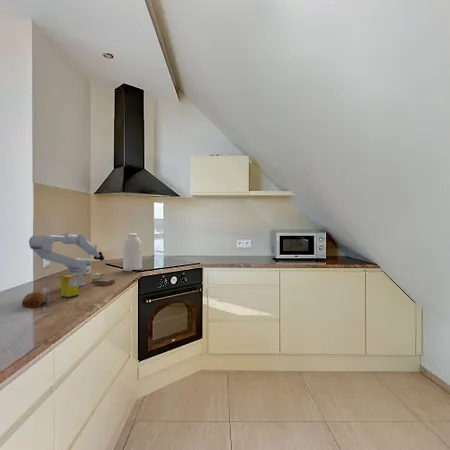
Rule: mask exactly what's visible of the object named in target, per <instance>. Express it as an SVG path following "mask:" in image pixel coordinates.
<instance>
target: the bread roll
mask: <svg viewBox="0 0 450 450" xmlns="http://www.w3.org/2000/svg"><path fill="white" fill-rule="evenodd" d="M48 301H49V300H48V296H47V295H46V294H44V293H43V292H40V291H33V292H30V293H27V295H26V296H24V298H23V299H22V301H21V304H22V307H23V308H26V309H36V308H40V307H45V306H46V305H47V304H48Z"/></svg>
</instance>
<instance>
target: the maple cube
mask: <svg viewBox="0 0 450 450" xmlns="http://www.w3.org/2000/svg"><path fill="white" fill-rule="evenodd" d="M104 277H105V273H104V272H95V273H92V274H91V282H92V283H96V280H99V279H102V278H104Z"/></svg>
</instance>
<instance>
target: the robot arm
mask: <svg viewBox="0 0 450 450" xmlns="http://www.w3.org/2000/svg"><path fill="white" fill-rule="evenodd" d="M54 242H61V243H62V244H63V245H76V246H78V248H80V249H82V251H84V252H85V253H87V254H88V255H89V256H93V259H94V260H100V261H101V262H103V261H104V260H105V257H104V255H103V253H102V251H98V249H97V247H98V245H96V244H92V243H91V242H90V241H88V240H87V239H86V237H85V235H84V234H76V233H70V232H66V233H64V234H62V235H54V234H40V235H32V236H31V237H30V238H29V240H28V244H29V247H30V249H31V250H33V251H34V252H35V254H37V256H39V258H41V259H43V260H47V261H49V262H54V263H55V264H60V265H62V266H63V265H64V267H66V268H67V269H68V271H69V272H67V273H66V274H65V275H69V274H74V275H78V288H79V287H82V286H85V285H87V282H84V274H83V270H84V269H85V267H86V261H85V260H83V259H81V260H80V259H76V258H73V257H69V256H66V255H63V254H60V253H57V252H54V251H53V245H54Z"/></svg>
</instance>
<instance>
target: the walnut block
mask: <svg viewBox="0 0 450 450" xmlns="http://www.w3.org/2000/svg"><path fill="white" fill-rule="evenodd" d="M113 284H116V279H115V278H108V277H107V278H106V277H105V278H102V279H99V280H96V282H95V286H105V287H107V286H111V285H113Z"/></svg>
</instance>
